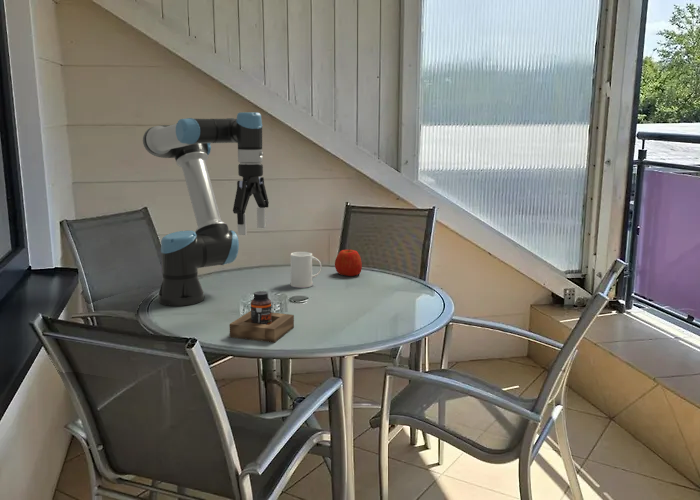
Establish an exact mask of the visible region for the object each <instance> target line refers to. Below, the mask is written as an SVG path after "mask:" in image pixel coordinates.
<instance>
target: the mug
mask: <svg viewBox="0 0 700 500" xmlns="http://www.w3.org/2000/svg"><path fill="white" fill-rule="evenodd" d="M313 261H316V262H318V264H319V266H320V269H319V271H318V272H317V273H316V274H315V273H314V274H313ZM322 269H323V268H322V262H321V261H320V260H319V259H318V258H317V257H315V256H314V255H313V253H312V252H308V251H295V252H291V253H290V284H289V286H291V287H292V288H297V289H303V288H305V289H307V288H311V287H312V286H314V283H313V279H314V278H317V277H318V276H319V275H320V274H321V272H322Z"/></svg>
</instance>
